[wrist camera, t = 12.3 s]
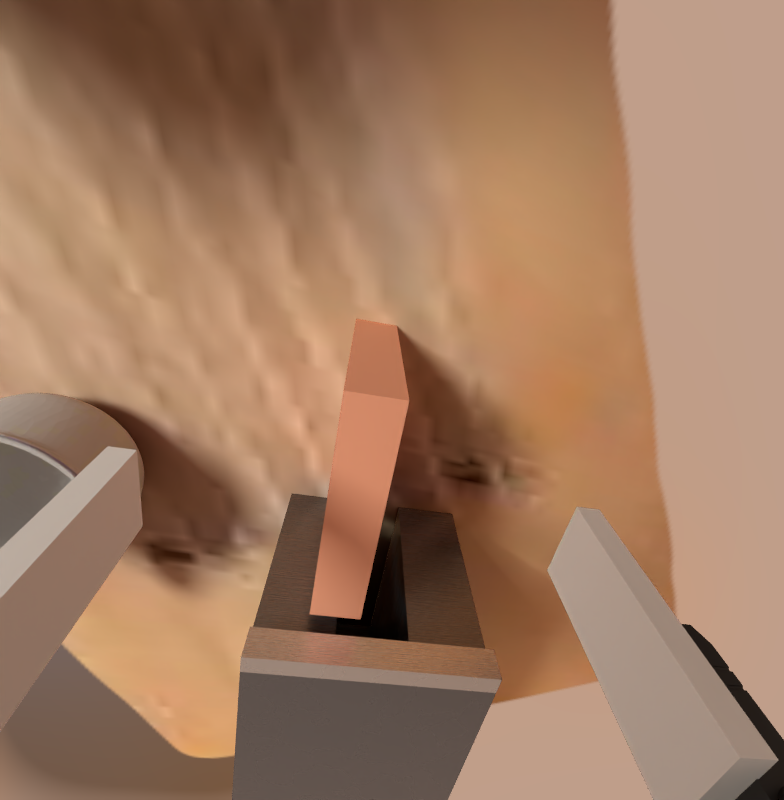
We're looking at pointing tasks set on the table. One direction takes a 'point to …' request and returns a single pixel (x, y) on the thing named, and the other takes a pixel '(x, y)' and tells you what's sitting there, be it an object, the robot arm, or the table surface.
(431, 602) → the block
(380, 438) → the salmon orange rectangular slab
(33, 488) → the teacup
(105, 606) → the table surface
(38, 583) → the robot arm
